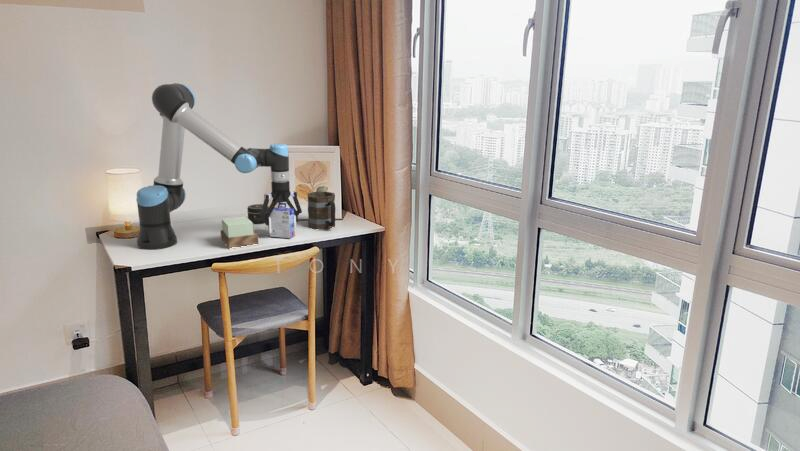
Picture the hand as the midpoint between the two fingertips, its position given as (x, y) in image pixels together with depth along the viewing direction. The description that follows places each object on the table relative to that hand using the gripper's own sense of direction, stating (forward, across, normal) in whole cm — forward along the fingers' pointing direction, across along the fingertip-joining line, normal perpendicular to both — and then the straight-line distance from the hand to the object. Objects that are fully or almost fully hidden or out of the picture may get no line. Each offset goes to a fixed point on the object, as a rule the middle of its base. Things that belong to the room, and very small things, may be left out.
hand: (282, 230), depth 243 cm
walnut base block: (+3, -19, 0) cm, 19 cm away
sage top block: (-2, -19, 0) cm, 19 cm away
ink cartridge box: (+3, 0, 0) cm, 3 cm away
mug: (+3, +22, +5) cm, 23 cm away
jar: (+3, -2, +28) cm, 29 cm away
